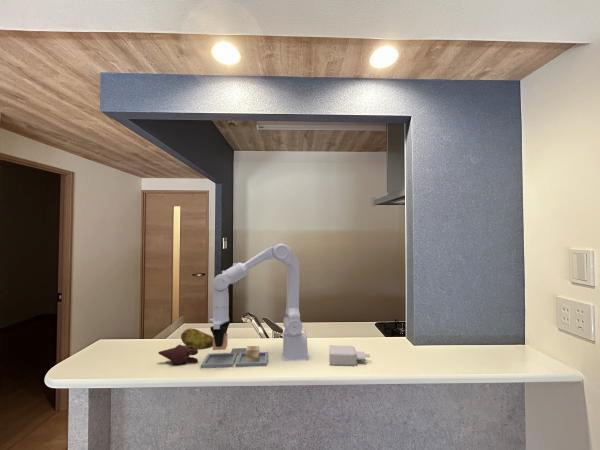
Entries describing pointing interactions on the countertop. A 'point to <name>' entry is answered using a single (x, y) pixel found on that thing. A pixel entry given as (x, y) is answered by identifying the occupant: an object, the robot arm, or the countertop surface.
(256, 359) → the plain cube
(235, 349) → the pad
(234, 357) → the dish
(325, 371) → the countertop surface
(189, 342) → the potato
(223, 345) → the letter cube
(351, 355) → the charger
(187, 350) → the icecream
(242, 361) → the dish
